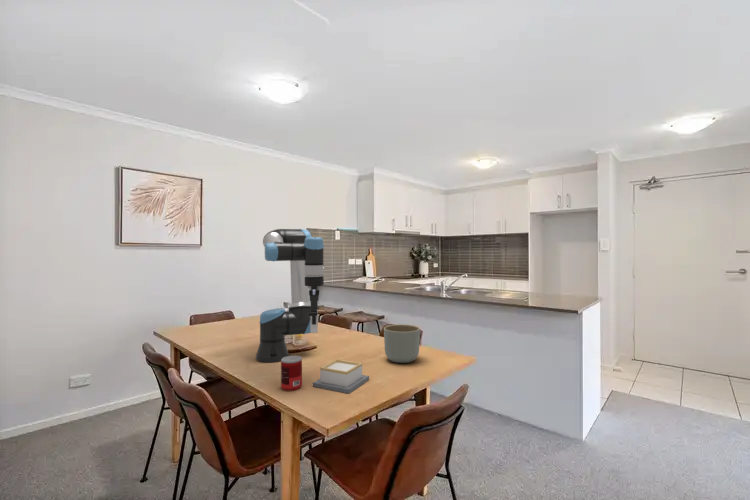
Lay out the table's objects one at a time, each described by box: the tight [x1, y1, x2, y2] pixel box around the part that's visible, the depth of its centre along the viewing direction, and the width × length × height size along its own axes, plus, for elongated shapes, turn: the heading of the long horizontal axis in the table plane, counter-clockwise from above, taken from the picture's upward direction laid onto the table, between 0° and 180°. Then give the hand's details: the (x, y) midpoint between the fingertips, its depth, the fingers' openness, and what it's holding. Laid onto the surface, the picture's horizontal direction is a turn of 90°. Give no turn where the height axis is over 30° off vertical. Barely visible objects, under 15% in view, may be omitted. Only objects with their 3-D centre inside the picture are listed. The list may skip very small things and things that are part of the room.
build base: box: [312, 358, 370, 394], centre depth 143 cm, size 16×16×7 cm
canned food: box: [280, 355, 303, 392], centre depth 139 cm, size 8×8×11 cm
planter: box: [383, 323, 421, 364], centre depth 173 cm, size 17×17×15 cm
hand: (314, 329), depth 146 cm, fingers open, 13 cm apart
